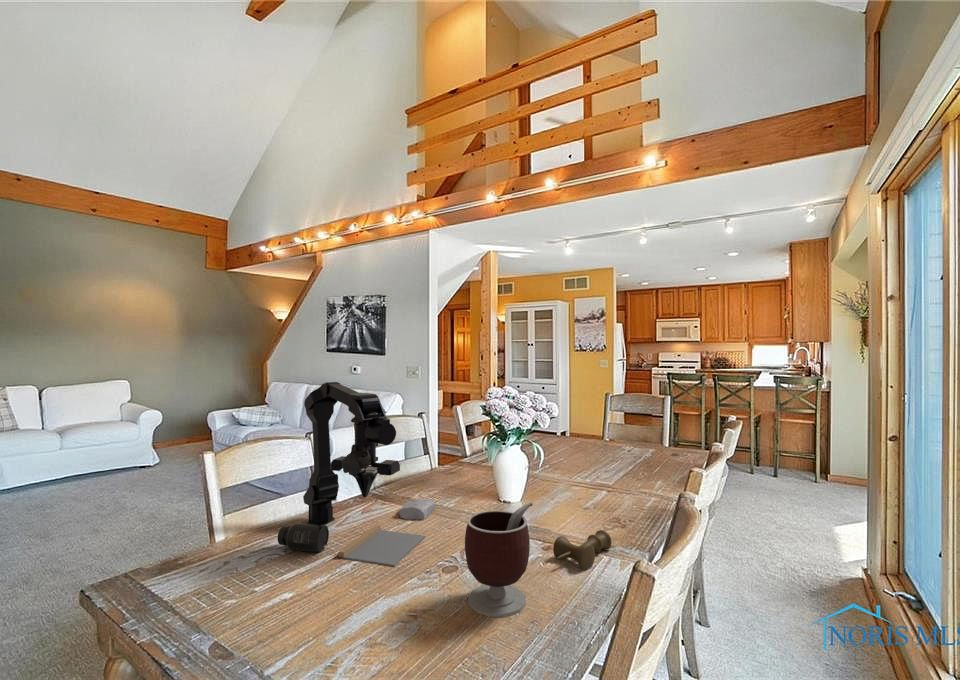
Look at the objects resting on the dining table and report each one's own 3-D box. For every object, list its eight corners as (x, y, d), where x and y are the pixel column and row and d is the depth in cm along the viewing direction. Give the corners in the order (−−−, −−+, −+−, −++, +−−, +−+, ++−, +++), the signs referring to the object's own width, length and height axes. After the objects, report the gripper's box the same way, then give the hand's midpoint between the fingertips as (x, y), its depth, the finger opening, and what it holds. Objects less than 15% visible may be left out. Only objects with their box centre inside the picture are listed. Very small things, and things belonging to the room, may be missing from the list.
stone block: (397, 525, 150) (427, 520, 149) (395, 509, 151) (424, 505, 149) (410, 513, 162) (438, 509, 160) (407, 499, 162) (435, 494, 161)
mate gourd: (480, 625, 93) (480, 522, 93) (455, 592, 106) (455, 501, 106) (548, 608, 99) (548, 511, 99) (517, 578, 112) (517, 493, 112)
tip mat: (338, 557, 122) (338, 551, 122) (375, 530, 140) (375, 525, 140) (394, 566, 118) (394, 560, 118) (425, 537, 136) (425, 531, 136)
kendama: (620, 555, 125) (573, 577, 112) (590, 545, 133) (542, 564, 119) (620, 532, 126) (573, 551, 113) (589, 523, 133) (542, 540, 120)
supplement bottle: (328, 519, 129) (287, 516, 131) (316, 533, 123) (273, 530, 125) (330, 542, 130) (290, 539, 132) (318, 558, 124) (276, 554, 126)
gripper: (318, 443, 126) (317, 502, 126) (381, 448, 121) (380, 509, 120) (342, 436, 137) (342, 490, 137) (401, 439, 131) (400, 496, 131)
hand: (365, 496), depth 131 cm, fingers closed
